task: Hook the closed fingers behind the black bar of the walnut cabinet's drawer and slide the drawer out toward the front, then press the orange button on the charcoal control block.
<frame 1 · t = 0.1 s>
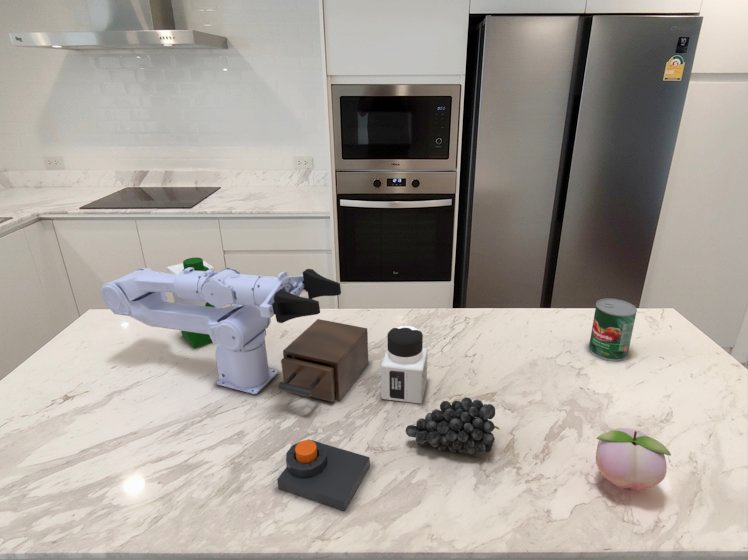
hand: (329, 298, 82), 22 cm above the counter, tool horizontal, fingers open, 7 cm apart
decorative fruit: (622, 484, 72), on the counter
container: (404, 390, 93), on the counter
milk carton: (203, 338, 113), on the counter
button: (306, 451, 73), point 4 cm above the counter, slide at 0.1 cm
canned tomato: (607, 352, 105), on the counter
drawer: (316, 369, 92), point 4 cm above the counter, slide at 0.5 cm
fruit: (450, 444, 80), on the counter
cabinet: (329, 375, 98), on the counter
button block: (325, 477, 73), on the counter
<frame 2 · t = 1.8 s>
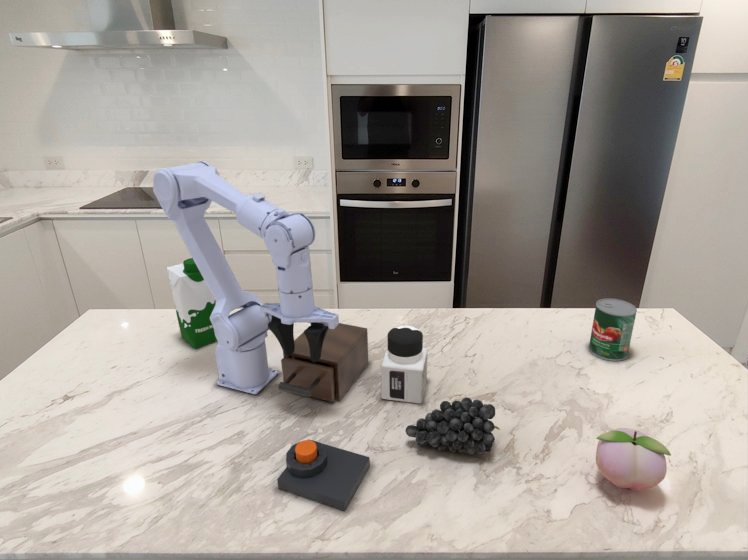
hand: (302, 356, 86), 10 cm above the counter, tool pointing down, fingers open, 5 cm apart
nothing on the counter moved.
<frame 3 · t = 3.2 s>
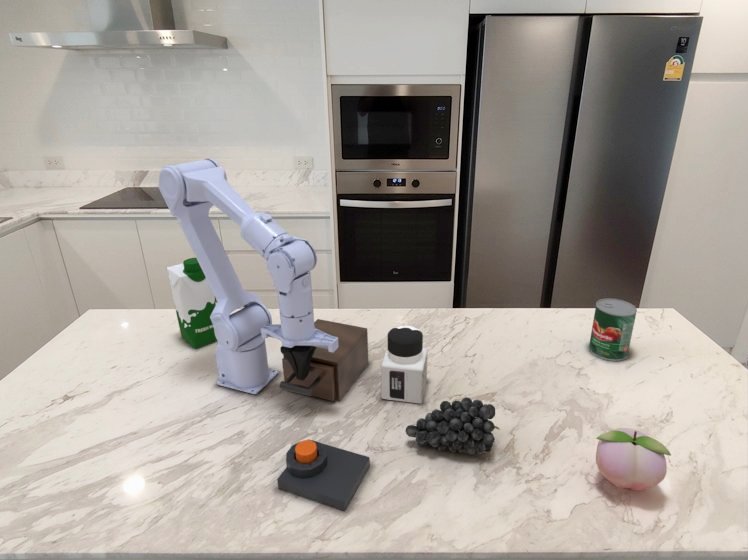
hand: (302, 376, 87), 6 cm above the counter, tool pointing down, fingers closed
drawer: (317, 368, 93), point 4 cm above the counter, slide at 0.2 cm
everything else where it was.
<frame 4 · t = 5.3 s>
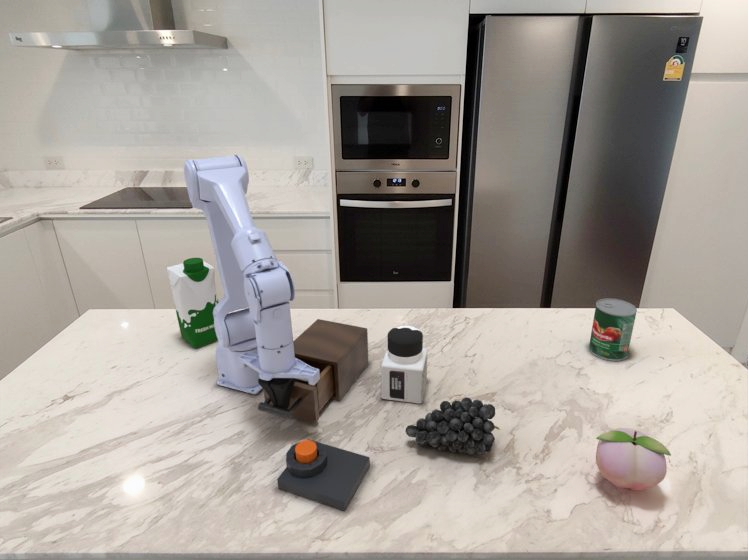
hand: (282, 408, 82), 4 cm above the counter, tool pointing down, fingers closed, pressing on drawer
drawer: (300, 387, 87), point 4 cm above the counter, slide at 6.6 cm, touching gripper
everything else where it was.
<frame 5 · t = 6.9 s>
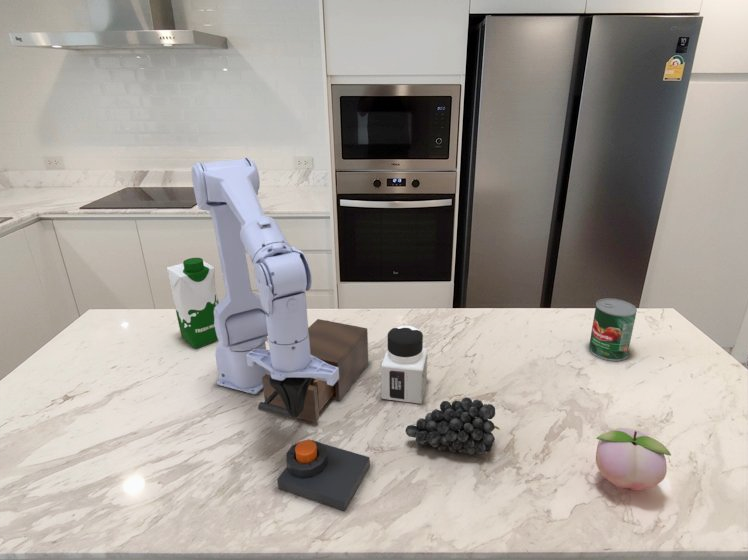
hand: (296, 412, 73), 9 cm above the counter, tool pointing down, fingers closed
drawer: (300, 387, 87), point 4 cm above the counter, slide at 6.6 cm
everything else where it was.
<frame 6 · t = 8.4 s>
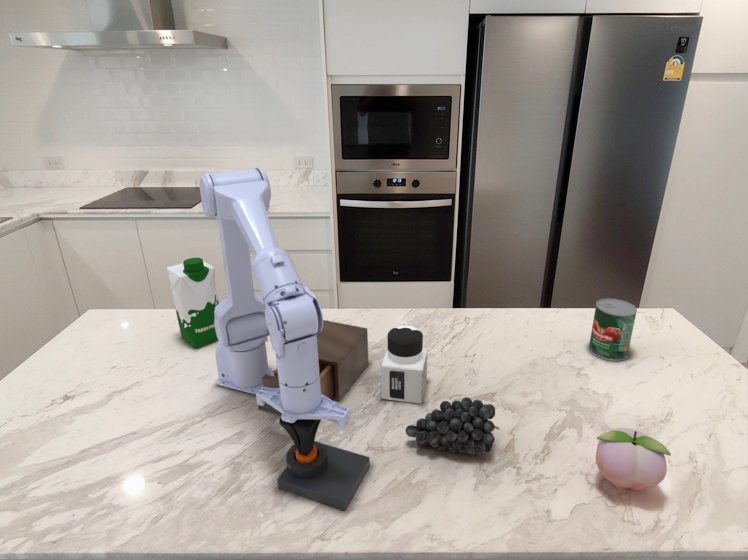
hand: (306, 450, 73), 4 cm above the counter, tool pointing down, fingers closed, pressing on button
button: (306, 455, 73), point 3 cm above the counter, slide at -0.5 cm, touching gripper
everything else where it was.
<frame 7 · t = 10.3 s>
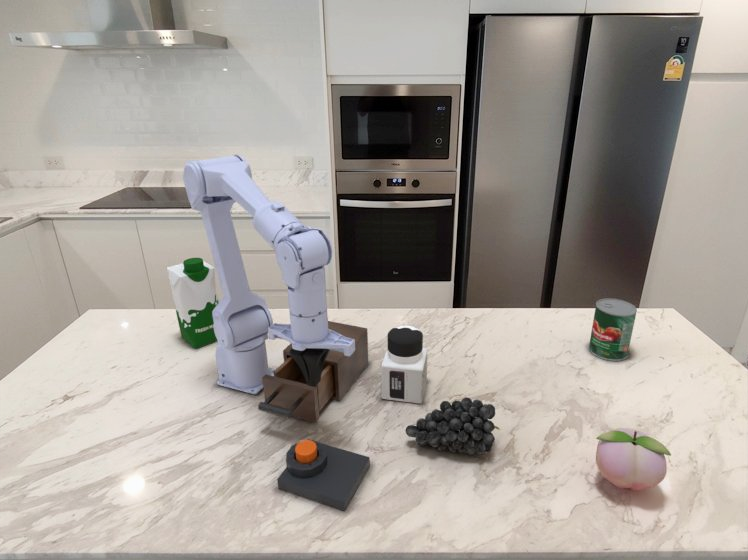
hand: (314, 382, 78), 10 cm above the counter, tool pointing down, fingers closed
button: (306, 451, 73), point 4 cm above the counter, slide at 0.1 cm
everything else where it was.
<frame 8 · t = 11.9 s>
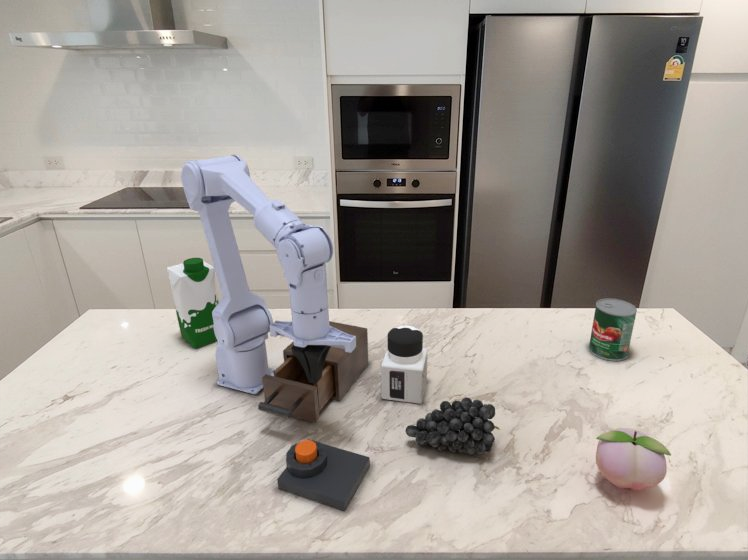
hand: (315, 379, 79), 10 cm above the counter, tool pointing down, fingers closed
nothing on the counter moved.
at the end: drawer slide at 6.6 cm; button pushed in 1.0 cm at the most during the clip, back to where it started at the end; button slide at 0.1 cm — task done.
